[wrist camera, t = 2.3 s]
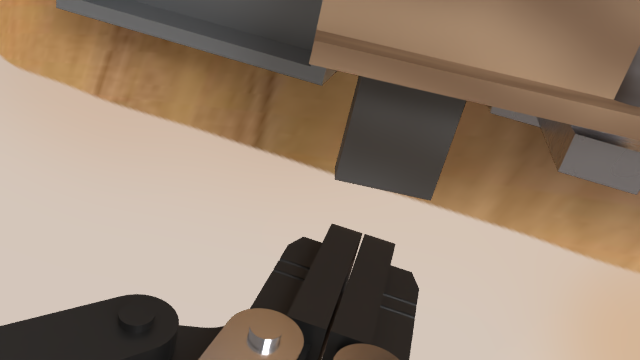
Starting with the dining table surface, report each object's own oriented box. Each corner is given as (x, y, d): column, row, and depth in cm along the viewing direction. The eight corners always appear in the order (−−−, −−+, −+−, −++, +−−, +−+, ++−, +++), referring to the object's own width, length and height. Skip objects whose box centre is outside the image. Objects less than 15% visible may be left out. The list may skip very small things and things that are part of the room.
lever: (354, -147, 20) (358, -164, 15) (952, 7, 21) (1114, 33, 17) (292, 139, 25) (281, 189, 20) (782, 247, 26) (872, 316, 22)
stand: (588, -155, 25) (656, -209, 16) (746, -120, 25) (911, -156, 15) (489, 107, 31) (498, 176, 22) (615, 144, 30) (678, 230, 21)
